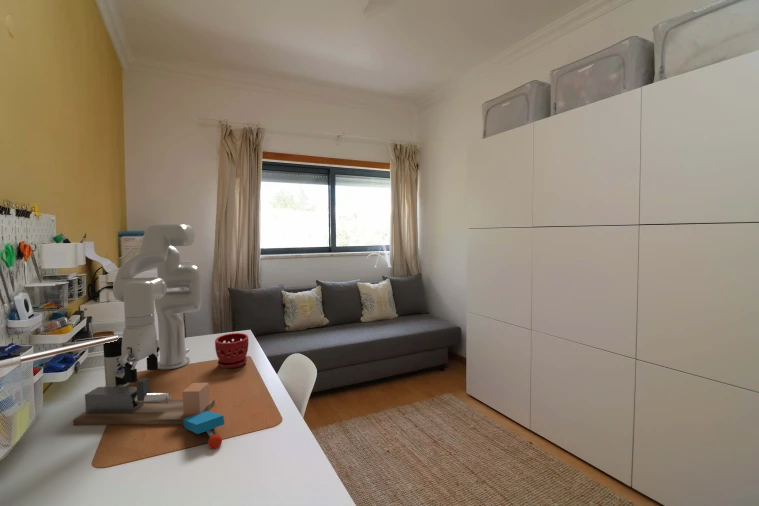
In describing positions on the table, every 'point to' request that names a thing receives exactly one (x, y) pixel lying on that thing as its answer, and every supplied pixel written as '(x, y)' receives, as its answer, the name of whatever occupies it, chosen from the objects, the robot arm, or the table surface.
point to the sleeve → (111, 400)
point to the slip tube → (149, 394)
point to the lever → (205, 426)
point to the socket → (195, 398)
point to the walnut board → (142, 415)
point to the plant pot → (231, 350)
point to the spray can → (114, 364)
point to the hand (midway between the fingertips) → (142, 375)
